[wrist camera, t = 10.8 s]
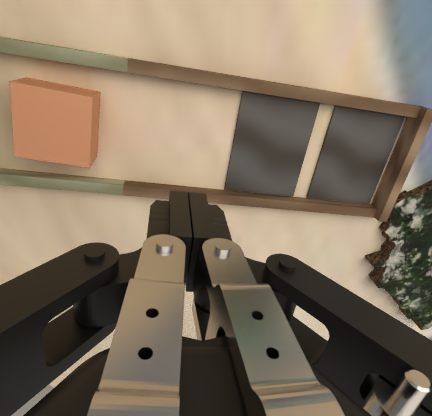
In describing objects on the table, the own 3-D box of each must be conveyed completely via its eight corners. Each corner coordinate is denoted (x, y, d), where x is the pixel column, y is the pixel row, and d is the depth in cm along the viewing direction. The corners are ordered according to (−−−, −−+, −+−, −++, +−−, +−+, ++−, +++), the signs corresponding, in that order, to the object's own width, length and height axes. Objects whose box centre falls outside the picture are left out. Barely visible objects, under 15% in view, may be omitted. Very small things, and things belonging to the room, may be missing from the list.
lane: (-43, 29, 29) (-72, 28, 26) (421, 106, 38) (446, 113, 35) (-18, 176, 35) (-39, 191, 32) (375, 212, 44) (393, 227, 41)
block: (27, 77, 32) (9, 81, 28) (100, 91, 33) (92, 97, 30) (29, 145, 35) (14, 156, 31) (97, 155, 36) (89, 167, 33)
